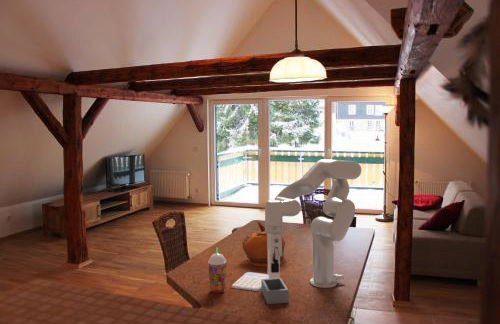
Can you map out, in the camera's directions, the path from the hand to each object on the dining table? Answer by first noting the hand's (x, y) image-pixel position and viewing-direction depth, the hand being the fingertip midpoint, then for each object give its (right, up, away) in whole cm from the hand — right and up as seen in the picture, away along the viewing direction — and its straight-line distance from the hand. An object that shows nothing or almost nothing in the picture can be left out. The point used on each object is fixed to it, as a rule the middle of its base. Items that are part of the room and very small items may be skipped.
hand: (273, 269), depth 168 cm
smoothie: (-25, -12, +8) cm, 29 cm away
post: (0, -3, 0) cm, 3 cm away
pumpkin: (-1, -9, +52) cm, 53 cm away
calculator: (-9, -12, +19) cm, 24 cm away
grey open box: (0, -12, +1) cm, 12 cm away
